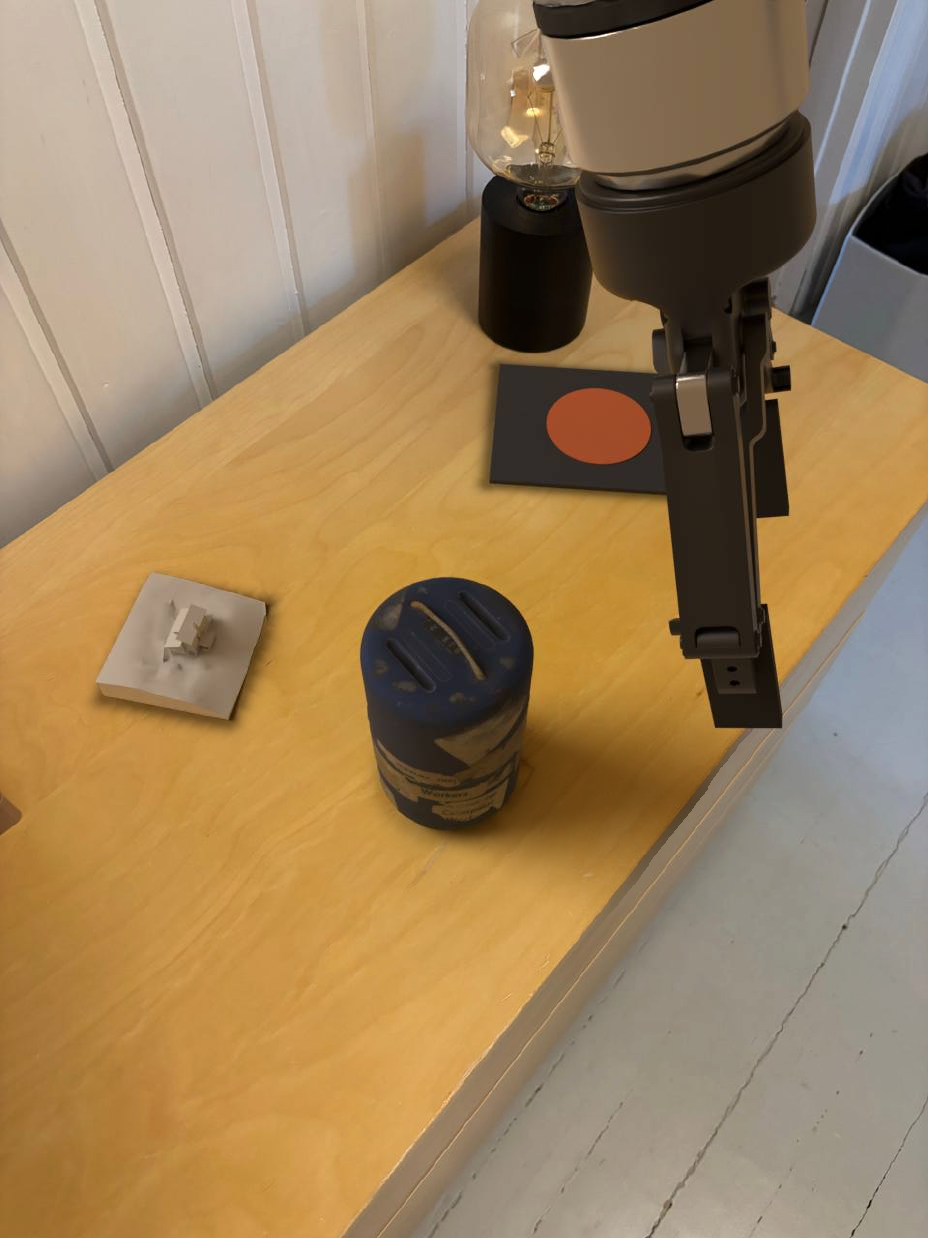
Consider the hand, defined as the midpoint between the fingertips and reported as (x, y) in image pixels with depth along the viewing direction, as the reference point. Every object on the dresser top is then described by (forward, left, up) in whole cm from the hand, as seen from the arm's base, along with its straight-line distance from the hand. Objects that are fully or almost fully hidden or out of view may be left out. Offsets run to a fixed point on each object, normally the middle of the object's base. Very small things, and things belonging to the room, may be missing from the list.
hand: (755, 607), depth 44 cm
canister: (+15, -1, -23) cm, 27 cm away
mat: (+5, -34, -23) cm, 41 cm away
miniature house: (+35, -9, -23) cm, 42 cm away
